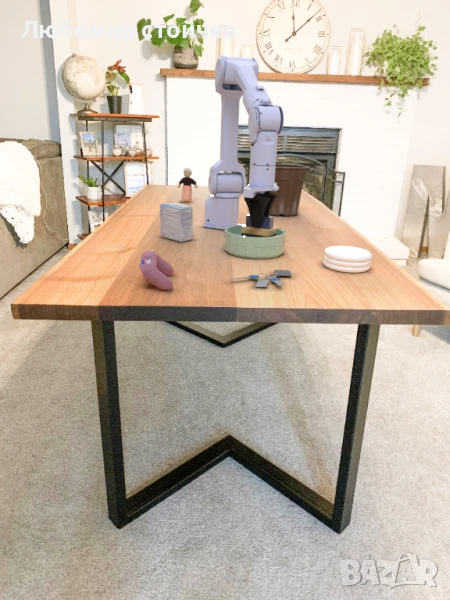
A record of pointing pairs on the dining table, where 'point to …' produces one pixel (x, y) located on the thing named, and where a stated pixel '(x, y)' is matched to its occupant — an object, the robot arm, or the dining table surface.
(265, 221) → the brush
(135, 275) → the dining table surface
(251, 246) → the bowl
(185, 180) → the grandmother figurine
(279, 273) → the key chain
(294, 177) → the plant pot
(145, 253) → the pink curved piece
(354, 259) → the white round stacked piece
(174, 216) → the medicine box
